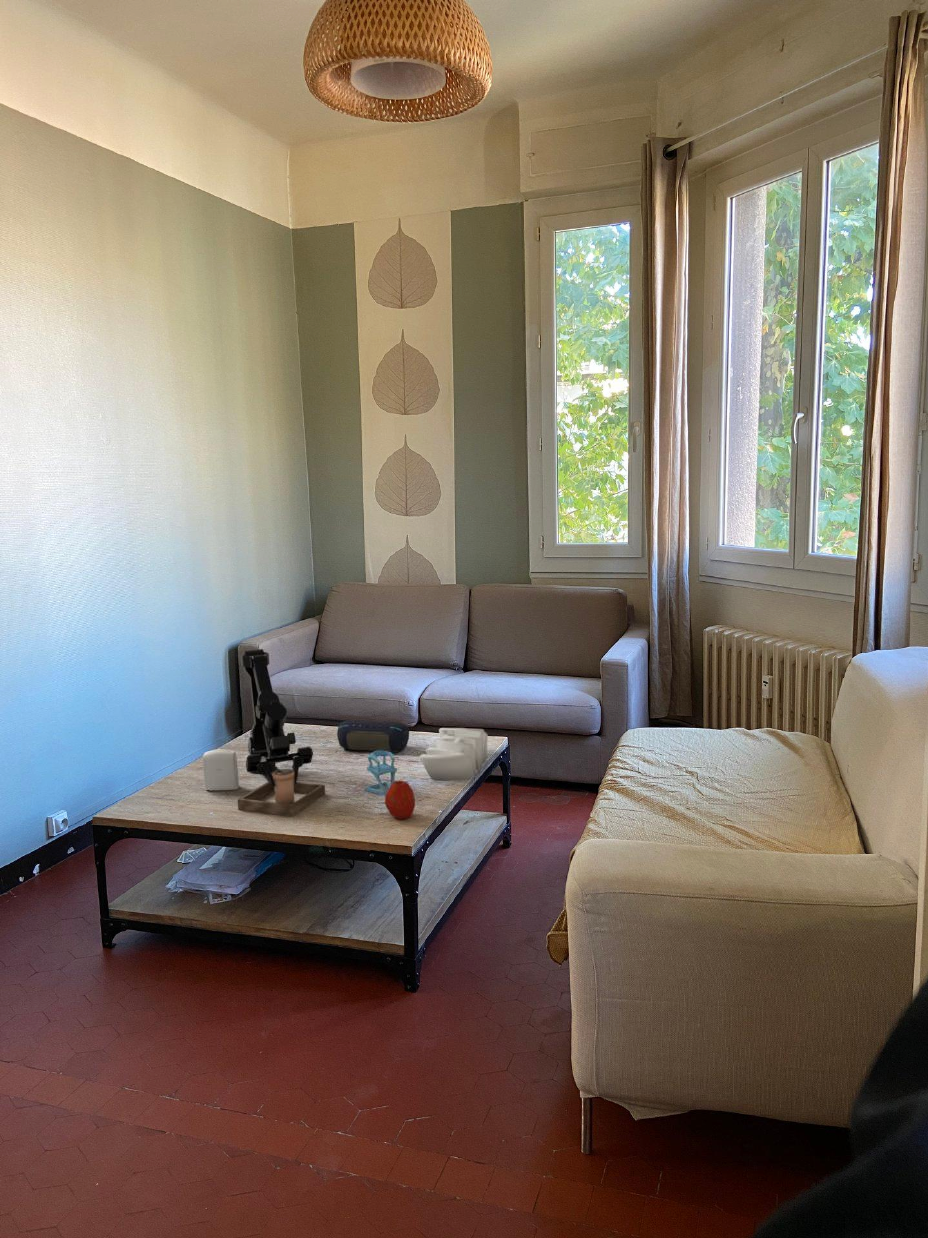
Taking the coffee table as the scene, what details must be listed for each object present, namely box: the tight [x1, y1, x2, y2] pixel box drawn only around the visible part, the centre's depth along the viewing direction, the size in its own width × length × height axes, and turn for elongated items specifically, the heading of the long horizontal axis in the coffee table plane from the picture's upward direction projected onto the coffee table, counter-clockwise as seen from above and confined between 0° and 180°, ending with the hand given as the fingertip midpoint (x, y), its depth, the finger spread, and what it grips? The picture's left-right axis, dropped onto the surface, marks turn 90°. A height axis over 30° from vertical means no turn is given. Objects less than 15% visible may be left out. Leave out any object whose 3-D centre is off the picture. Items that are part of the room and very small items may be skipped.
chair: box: [364, 750, 398, 797], centre depth 266 cm, size 8×8×12 cm
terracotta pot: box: [271, 768, 296, 805], centre depth 256 cm, size 6×6×10 cm
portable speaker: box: [336, 720, 410, 753], centre depth 306 cm, size 25×10×10 cm, turn 77°
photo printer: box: [202, 748, 240, 791], centre depth 271 cm, size 10×4×12 cm, turn 89°
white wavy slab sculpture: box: [419, 727, 488, 782], centre depth 285 cm, size 35×16×11 cm, turn 163°
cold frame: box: [237, 779, 326, 817], centre depth 259 cm, size 18×18×3 cm
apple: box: [384, 780, 416, 820], centre depth 245 cm, size 8×8×11 cm
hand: (284, 785), depth 254 cm, fingers closed on terracotta pot, 6 cm apart
